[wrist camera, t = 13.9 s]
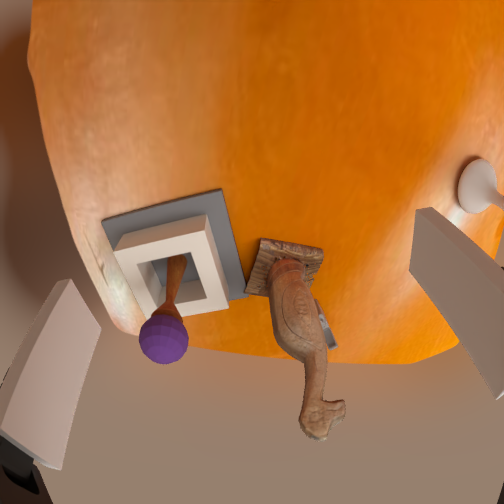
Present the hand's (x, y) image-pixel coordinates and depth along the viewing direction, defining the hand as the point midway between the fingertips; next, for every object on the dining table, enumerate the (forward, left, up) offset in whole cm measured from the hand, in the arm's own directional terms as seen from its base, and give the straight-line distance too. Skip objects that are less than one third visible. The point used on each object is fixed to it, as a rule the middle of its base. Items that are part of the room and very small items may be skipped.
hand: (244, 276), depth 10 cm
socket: (+18, -13, -34) cm, 41 cm away
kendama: (+18, -13, -33) cm, 40 cm away
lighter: (+36, +9, -34) cm, 51 cm away
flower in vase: (+14, +44, -34) cm, 57 cm away
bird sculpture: (+24, +4, -35) cm, 42 cm away
